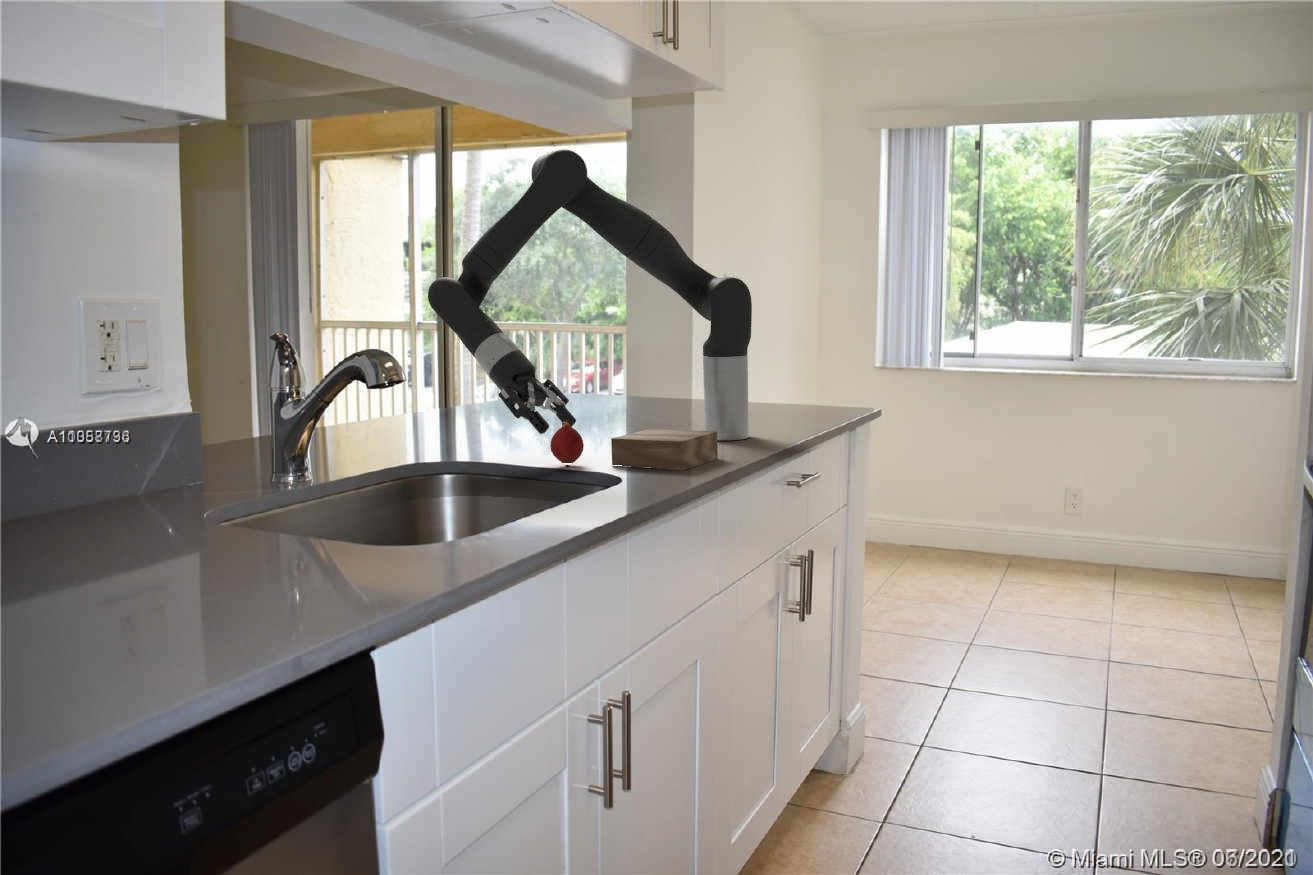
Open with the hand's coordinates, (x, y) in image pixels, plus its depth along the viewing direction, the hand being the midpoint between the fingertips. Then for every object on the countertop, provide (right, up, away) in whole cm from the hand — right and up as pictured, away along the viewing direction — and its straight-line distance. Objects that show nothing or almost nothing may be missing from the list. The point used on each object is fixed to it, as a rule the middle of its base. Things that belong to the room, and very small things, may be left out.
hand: (559, 427), depth 178 cm
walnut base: (+19, -6, +1) cm, 20 cm away
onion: (+1, -7, 0) cm, 7 cm away
